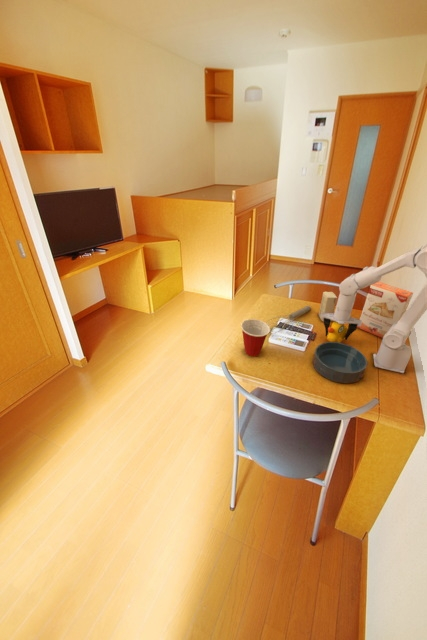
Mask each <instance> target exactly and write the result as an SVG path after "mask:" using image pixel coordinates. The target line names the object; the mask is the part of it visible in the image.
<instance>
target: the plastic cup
mask: <svg viewBox="0 0 427 640" xmlns="http://www.w3.org/2000/svg"><path fill="white" fill-rule="evenodd" d="M240 328H241V331H242V340H243V347H244V352H245V354H246V355H247V356H248V357H258V356H259V355H260V354H261V353H262V352H261V351H262V349H263V347H264V343H265V341H266V338H267V336H268V335H269V334H270V333H271V331H270V330H271V326H270V324H269V325H268V322H265V321H263V320H261V319H256V318H249V319H245V320H243V321H242V322H241V324H240Z"/></svg>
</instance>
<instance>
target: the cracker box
mask: <svg viewBox="0 0 427 640" xmlns="http://www.w3.org/2000/svg"><path fill="white" fill-rule="evenodd" d="M413 294H414V292H412V291H410V290H406V289H402V288H399V287H396V286H393V285H391V284H387V283H383V282H380V281H379V282H377V283H374V284H372V285H370V286H369V290H368V293H367V296H366V297H365V301H364V305H363V307H362V312H361V314H360V317H359V320H362V324H361V327H359V326H357V329H360V330H361V331H364V332H366V333H369V334H371V335H374V336H376V337H378V338H380V339H383V337H384V335H385V334H386V333H387V332H388V331H389V329H390V328H391V326H392V325H393V324H394V323H396V322H398V321H399V320H400V319H401V317H402V316H403V314H404V313H405V312H406V310H407V309H408V308H409V306H410V302H411V299H412V297H413Z"/></svg>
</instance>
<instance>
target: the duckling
mask: <svg viewBox="0 0 427 640" xmlns="http://www.w3.org/2000/svg"><path fill="white" fill-rule="evenodd" d="M347 330H348V327H347V326H346V325H345V323H344V324H339V323H338V322H336V321H333V322H332V323H330V326H329V328H328V335H327V336H326V339H327V342H339V343H343V341H344V340H345V335H346V333H347Z"/></svg>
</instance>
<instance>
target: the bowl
mask: <svg viewBox="0 0 427 640" xmlns="http://www.w3.org/2000/svg"><path fill="white" fill-rule="evenodd" d="M312 365H313V368H314V369H315V370H316V372H317V373H318V374H319V375H321V376H322V377H324V378H325V379H328V380H330V381H332V382H335V383H340V384H353V383H357V382H359V381H361V380H362V378H363V377H364V375H365V373H366V369H367V367H368V360H367V358H366V356H365V355H364V354H363V353H362V352H361V351H360V350H359V349H358V348H356V347H354V346H351V345H349V344H346V343H343V342H341V343H339V342H329V341H326V342H322V343H320V344H318V345H317V346H316V347H315V349H314V353H313V357H312Z"/></svg>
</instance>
